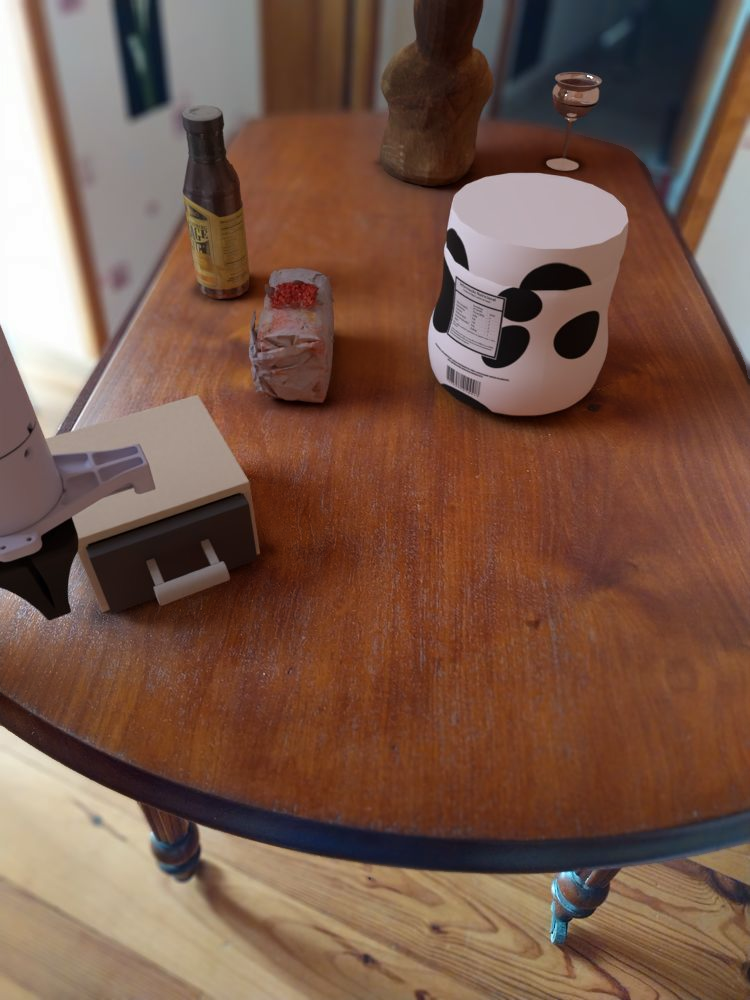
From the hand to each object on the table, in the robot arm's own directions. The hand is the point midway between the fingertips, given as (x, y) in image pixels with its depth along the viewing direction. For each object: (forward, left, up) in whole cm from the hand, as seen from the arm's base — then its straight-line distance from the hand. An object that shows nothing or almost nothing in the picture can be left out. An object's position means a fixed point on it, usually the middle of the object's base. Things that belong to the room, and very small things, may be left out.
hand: (56, 604), depth 45 cm
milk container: (+13, +47, -10) cm, 50 cm away
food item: (-7, +38, -10) cm, 40 cm away
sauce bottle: (-23, +48, -10) cm, 54 cm away
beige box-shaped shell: (-5, +14, -9) cm, 17 cm away
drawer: (-2, +11, -8) cm, 14 cm away
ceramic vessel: (-15, +90, -10) cm, 92 cm away
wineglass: (+1, +104, -10) cm, 104 cm away
